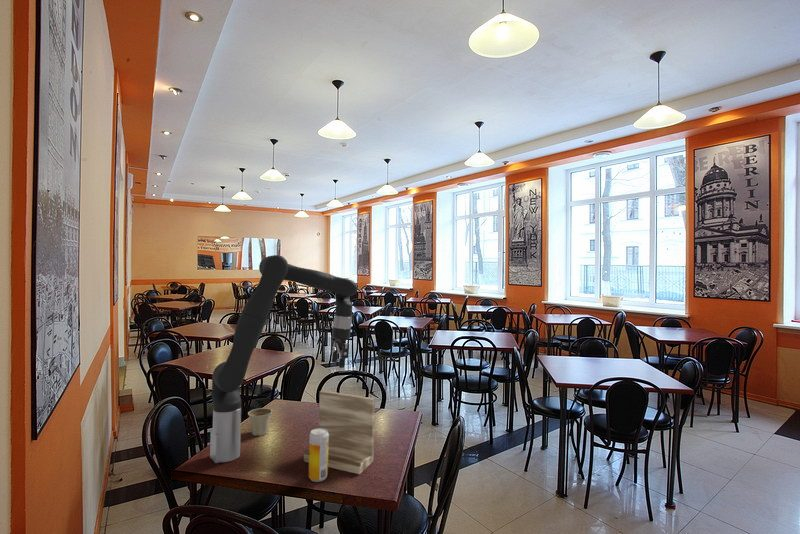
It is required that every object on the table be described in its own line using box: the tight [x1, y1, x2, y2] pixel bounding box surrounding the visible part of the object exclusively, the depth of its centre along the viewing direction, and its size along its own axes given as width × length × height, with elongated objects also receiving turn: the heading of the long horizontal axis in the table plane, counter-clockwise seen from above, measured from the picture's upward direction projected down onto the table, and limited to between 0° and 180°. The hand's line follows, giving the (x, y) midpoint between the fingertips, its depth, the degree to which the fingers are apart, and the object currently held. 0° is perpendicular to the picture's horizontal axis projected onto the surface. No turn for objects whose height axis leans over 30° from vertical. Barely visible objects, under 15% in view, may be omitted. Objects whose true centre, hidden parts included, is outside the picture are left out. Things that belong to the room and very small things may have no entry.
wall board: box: [303, 390, 376, 475], centre depth 144 cm, size 11×22×22 cm, turn 68°
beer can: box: [308, 427, 329, 483], centre depth 132 cm, size 6×6×15 cm
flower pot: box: [247, 407, 273, 437], centre depth 167 cm, size 9×9×9 cm
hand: (337, 364), depth 171 cm, fingers open, 8 cm apart
